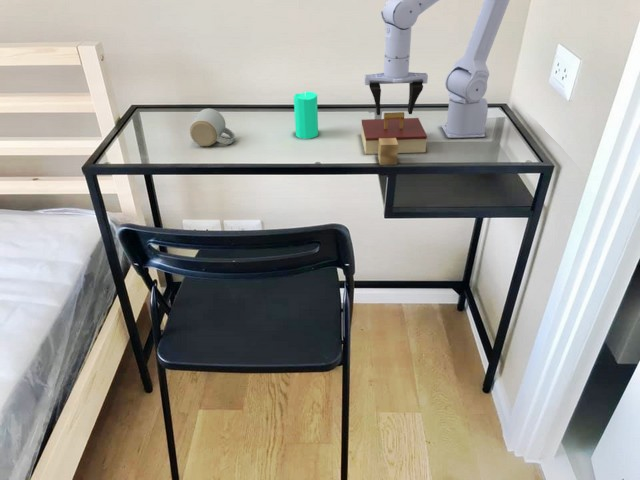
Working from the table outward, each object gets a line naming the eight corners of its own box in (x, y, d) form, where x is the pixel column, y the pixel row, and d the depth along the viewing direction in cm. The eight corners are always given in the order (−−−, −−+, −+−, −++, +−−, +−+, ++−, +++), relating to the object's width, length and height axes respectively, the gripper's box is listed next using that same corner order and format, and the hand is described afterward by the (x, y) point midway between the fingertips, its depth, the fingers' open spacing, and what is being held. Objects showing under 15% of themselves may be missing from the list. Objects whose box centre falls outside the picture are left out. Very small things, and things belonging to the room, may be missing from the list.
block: (394, 157, 127) (395, 137, 124) (397, 164, 123) (398, 144, 121) (378, 158, 127) (378, 138, 124) (379, 165, 123) (380, 144, 121)
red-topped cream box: (425, 152, 129) (426, 138, 127) (365, 154, 129) (365, 140, 127) (417, 133, 139) (418, 120, 137) (361, 135, 139) (361, 122, 137)
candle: (319, 130, 143) (318, 85, 136) (317, 138, 138) (315, 93, 131) (297, 130, 143) (294, 85, 137) (294, 138, 138) (291, 92, 132)
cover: (427, 139, 126) (428, 120, 124) (365, 140, 126) (366, 121, 124) (418, 120, 137) (419, 102, 134) (361, 122, 137) (361, 104, 134)
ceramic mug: (190, 147, 135) (185, 118, 131) (199, 135, 142) (195, 107, 137) (231, 149, 134) (228, 119, 130) (238, 136, 141) (235, 108, 137)
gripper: (366, 60, 118) (365, 119, 125) (432, 59, 118) (427, 118, 125) (364, 53, 124) (363, 109, 131) (426, 51, 124) (421, 108, 131)
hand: (394, 113), depth 129 cm, fingers open, 7 cm apart
